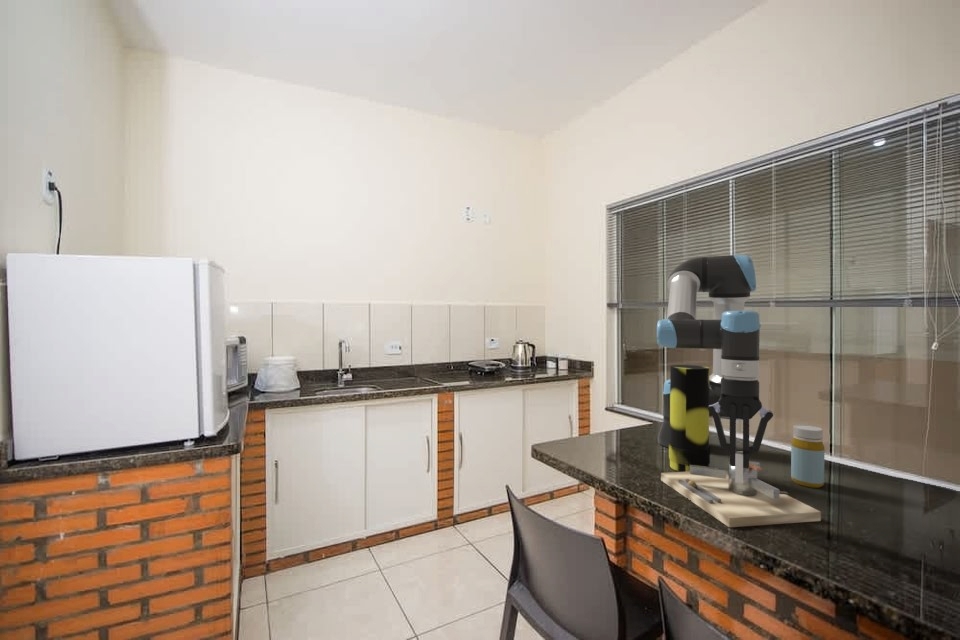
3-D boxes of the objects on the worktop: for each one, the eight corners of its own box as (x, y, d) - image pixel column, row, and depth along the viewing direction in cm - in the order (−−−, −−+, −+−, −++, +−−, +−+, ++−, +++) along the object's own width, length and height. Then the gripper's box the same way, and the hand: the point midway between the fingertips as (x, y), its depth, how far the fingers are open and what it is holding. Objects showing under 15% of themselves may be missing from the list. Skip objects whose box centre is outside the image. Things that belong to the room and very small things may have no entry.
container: (660, 464, 127) (661, 365, 127) (689, 460, 131) (689, 364, 131) (688, 477, 117) (689, 369, 117) (718, 473, 121) (719, 368, 120)
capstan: (687, 481, 109) (687, 452, 109) (756, 477, 112) (756, 449, 111) (735, 511, 92) (736, 478, 92) (816, 506, 95) (816, 473, 95)
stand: (660, 480, 115) (660, 466, 115) (737, 476, 118) (737, 462, 118) (729, 527, 90) (729, 509, 90) (824, 520, 93) (824, 503, 93)
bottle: (830, 489, 109) (830, 431, 109) (799, 487, 111) (800, 430, 111) (814, 479, 116) (815, 424, 116) (786, 477, 118) (786, 423, 117)
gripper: (706, 377, 97) (705, 480, 97) (775, 382, 90) (774, 493, 90) (708, 374, 103) (708, 470, 103) (773, 378, 96) (772, 481, 96)
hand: (739, 480), depth 97 cm, fingers closed
